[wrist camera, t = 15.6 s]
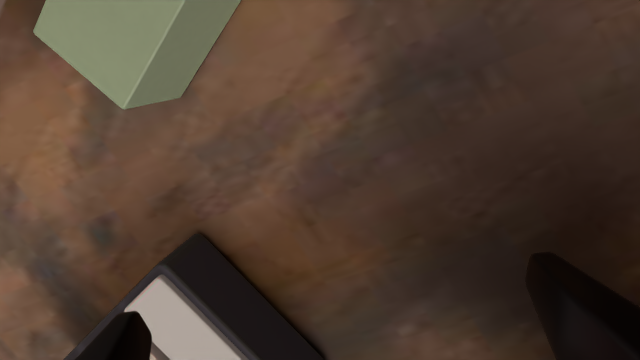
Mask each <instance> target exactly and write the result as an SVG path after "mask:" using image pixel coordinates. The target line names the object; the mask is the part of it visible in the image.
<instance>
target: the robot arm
mask: <svg viewBox="0 0 640 360" xmlns="http://www.w3.org/2000/svg"><path fill="white" fill-rule="evenodd" d="M525 282H526V287H527V290H528V292H529V295H530V297H531V300H532V302H533V305H534V307H535V310H536V312H537V314H538V317H539V319H540V322H541V324H542V327H543V329H544V332H545V334H546V336H547V339H548V341H549V344H550V346H551V348H552V351H553V353H554V355H555V357H556V359H557V360H640V307H639V306H637V305H635V304H634V303H632V302H631V301H629V300H627V299H626V298H624V297H623V296H621V295H619V294H618V293H616V292H615V291H613V290H611V289H610V288H608V287H607V286H605V285H604V284H602V283H600V282H599V281H597V280H596V279H594V278H592V277H591V276H589V275H588V274H586V273H584V272H583V271H581V270H580V269H578V268H576V267H575V266H573V265H572V264H570V263H569V262H567V261H565V260H564V259H562V258H561V257H559V256H557V255H556V254H554V253H552V252H541V253H534V254H532V255H531V256H530V258H529V263H528V268H527V273H526V278H525ZM151 345H152V335H151V332H150V330H149V328H148V327H147V325H146V323H145V322H144V320H143V318H142V317H141V315H140V314H139V313H138V312H137V311H130V312H123V313H119V314H118V315H116V316H115V317H114V318H113V319H112V320H111V321H110V322H109V324H108V325H107V326H106V327H105V328H104V329H103V330H102V331H101V332H100V333H99V334H98V335H97V336H96V337H95V339H94V340H93V341H92V342H91V343H90V344H89V345H88V346H87V347H86V348H85V349H84V350H83V351H82V352H81V353H80V355H79V356H78V357H77V358H76V359H75V360H150V353H151Z"/></svg>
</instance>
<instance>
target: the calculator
mask: <svg viewBox="0 0 640 360" xmlns="http://www.w3.org/2000/svg"><path fill="white" fill-rule="evenodd" d="M130 311H137V312H138V313H139V314H140V315H141V317H142V318H143V320H144V322H145V323H146V325H147V327H148V328H149V330H150V332H151V335H152V345H151V353H150V360H324V359H323V358H322V357H321V356H320V355H319V354H318V353H317V352H316V351H315V350H314V349H313V348H312V347H311V346H310V345H309V344H308V343H307V342H306V341H305V340H304V339H303V338H302V337H301V335H300V334H299V333H298V332H297V331H296V330H295V329H294V328H293V327H292V326H291V325H290V324H289V323H288V322H287V321H286V320H285V319H284V318H283V317H282V316H281V315H280V314H279V313H278V312H277V311H276V310H275V309H274V308H273V307H272V306H271V305H270V304H269V303H268V302H267V301H266V300H265V299H264V298H263V297H262V296H261V295H260V294H259V292H258V291H257V290H256V289H255V288H254V287H253V286H252V285H251V284H250V283H249V282H248V281H247V280H246V279H245V278H244V277H243V276H242V275H241V274H240V273H239V272H238V271H237V270H236V269H235V268H234V267H233V266H232V265H231V264H230V263H229V262H228V261H227V260H226V259H225V258H224V257H223V256H222V255H221V254H220V253H219V252H218V250H217V249H216V248H215V247H214V246H213V245H212V244H211V243H210V242H209V241H208V240H207V239H206V238H205V237H204V236H202V235H201V234H194V235H193V236H191V237H190V238H189V239H188V240H186V241H185V242H184V243H183V244H181V245H180V246H179V247H178V248H177V249H175V250H174V251H173V252H172V253H170V254H169V255H168V256H167V257H166V258H164V259H163V260H162V261H161V262H159V263H158V264H157V265H156V266H155V267H154V268H153V269H152V270H151V271H150V272H149V273H148V274H147V275H146V276H145V277H144V278H143V279H142V280H141V281H140V282H139V283H138V284H137V285H136V286H135V287H134V288H133V289H132V290H131V291H130V292H129V293H128V294H127V295H126V297H125V298H124V299H123V300H122V301H121V302H120V303H119V304H118V305H117V306H116V307H115V308H114V309H113V310H112V311H111V312H110V313H109V314H108V315H107V316H106V317H105V318H104V319H103V320H102V321H101V322H100V323H99V324H98V325H97V326H96V327H95V328H94V329H93V330H92V331H91V332H90V333H89V334H88V335H87V336H86V337H85V338H84V339H83V340H82V341H81V342H80V343H79V344H78V345H77V346H76V347H75V348H74V349H73V350H72V351H71V352H70V353H69V354H68V355H67V356H66V358H65V359H64V360H75V359H76V358H77V357H78V356H79V355H80V353H81V352H82V351H83V350H84V349H85V348H86V347H87V346H88V345H89V344H90V343H91V342H92V341H93V340H94V339H95V337H96V336H97V335H98V334H99V333H100V332H101V331H102V330H103V329H104V328H105V327H106V326H107V325H108V324H109V322H110V321H111V320H112V319H113V318H114V317H115V316H116V315H118V314H119V313H123V312H130Z"/></svg>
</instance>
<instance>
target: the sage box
mask: <svg viewBox="0 0 640 360" xmlns="http://www.w3.org/2000/svg"><path fill="white" fill-rule="evenodd" d="M240 1H241V0H46V2H45V4H44V7H43V9H42V11H41V14H40V16H39V19H38V21H37V23H36V26H35V28H34V31H33V33H34V34H35V35H36V36H37V37H39V38H40V39H41V40H42V41H43V42H44V43H46V44H47V45H48V46H49V47H50V48H51V49H53V50H54V51H55V52H56V53H57V54H59V55H60V56H61V57H62V58H63V59H64V60H66V61H67V62H68V63H69V64H70V65H71V66H73V67H74V68H75V69H76V70H77V71H78V72H80V73H81V74H82V75H83V76H84V77H85V78H87V79H88V80H89V81H90V82H91V83H92V84H94V85H95V86H96V87H97V88H98V89H100V90H101V91H102V92H103V93H104V94H105V95H107V96H108V97H109V98H110V99H111V100H112V101H114V102H115V103H116V104H117V105H118V106H119V107H121V108H122V109H128V108H133V107H138V106H143V105H147V104H152V103H157V102H162V101H167V100H171V99H176V98H180V97H181V96H182V94H183V93H184V91H185V90H186V88H187V86H188V85H189V83H190V82H191V80H192V78H193V77H194V75H195V74H196V72H197V70H198V69H199V67H200V66H201V64H202V62H203V61H204V59H205V57H206V56H207V54H208V53H209V51H210V49H211V48H212V46H213V45H214V43H215V41H216V40H217V38H218V37H219V35H220V33H221V32H222V30H223V29H224V27H225V25H226V24H227V22H228V21H229V19H230V17H231V16H232V14H233V13H234V11H235V9H236V8H237V6H238V4H239V3H240Z"/></svg>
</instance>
